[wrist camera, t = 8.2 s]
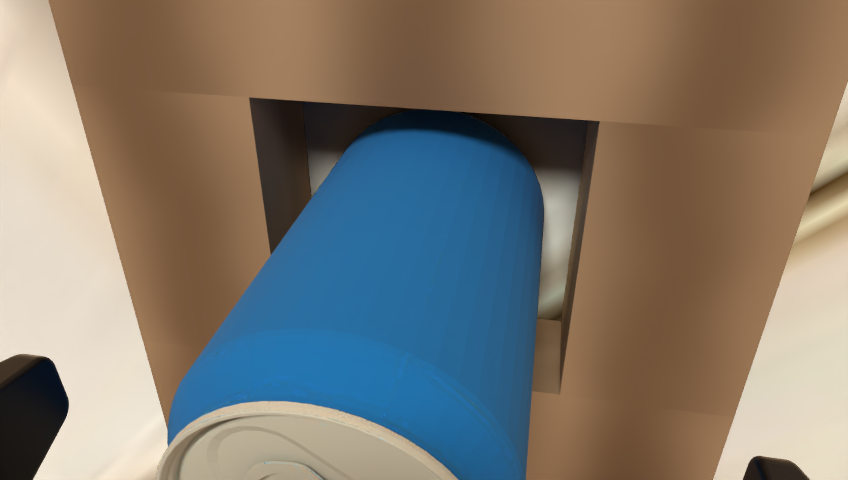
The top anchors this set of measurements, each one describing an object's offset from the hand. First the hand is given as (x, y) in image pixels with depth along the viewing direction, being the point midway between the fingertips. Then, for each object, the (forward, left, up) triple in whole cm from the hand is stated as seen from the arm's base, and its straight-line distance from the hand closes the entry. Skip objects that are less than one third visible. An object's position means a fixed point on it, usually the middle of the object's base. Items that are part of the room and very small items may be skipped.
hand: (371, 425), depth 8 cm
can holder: (+1, +3, -13) cm, 13 cm away
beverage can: (+1, +3, -13) cm, 13 cm away
